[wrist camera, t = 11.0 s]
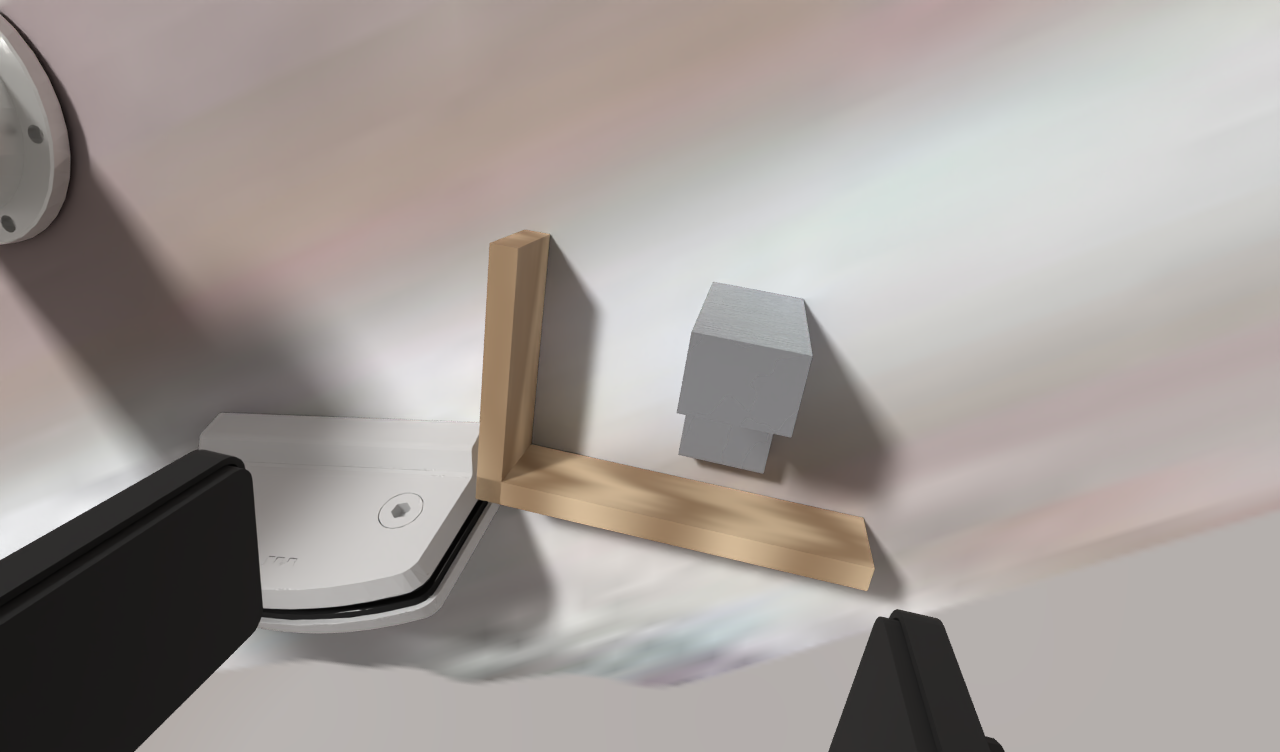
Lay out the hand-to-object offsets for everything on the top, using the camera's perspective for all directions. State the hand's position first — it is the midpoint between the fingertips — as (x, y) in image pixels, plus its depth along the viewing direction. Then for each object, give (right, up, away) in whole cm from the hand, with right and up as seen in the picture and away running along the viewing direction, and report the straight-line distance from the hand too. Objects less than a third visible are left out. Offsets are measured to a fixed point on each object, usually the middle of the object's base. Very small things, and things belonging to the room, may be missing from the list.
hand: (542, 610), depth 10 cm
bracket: (+6, +4, +21) cm, 22 cm away
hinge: (-14, -2, +28) cm, 31 cm away
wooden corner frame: (+4, +3, +22) cm, 22 cm away
